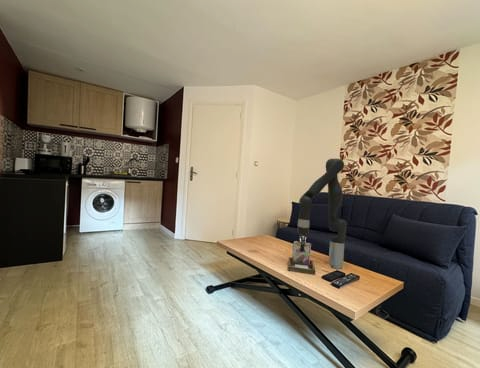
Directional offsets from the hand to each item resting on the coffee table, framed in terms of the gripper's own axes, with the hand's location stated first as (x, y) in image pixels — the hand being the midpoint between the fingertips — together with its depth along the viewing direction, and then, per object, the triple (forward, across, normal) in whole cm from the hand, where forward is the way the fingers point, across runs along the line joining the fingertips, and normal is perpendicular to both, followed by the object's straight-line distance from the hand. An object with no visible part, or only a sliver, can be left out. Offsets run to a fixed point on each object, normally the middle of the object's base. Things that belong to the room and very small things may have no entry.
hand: (301, 250), depth 153 cm
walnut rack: (+12, +4, 0) cm, 12 cm away
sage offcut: (+10, +8, 0) cm, 13 cm away
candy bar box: (+12, -1, 0) cm, 12 cm away
